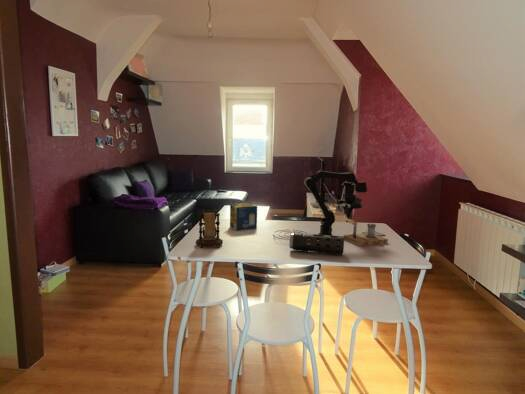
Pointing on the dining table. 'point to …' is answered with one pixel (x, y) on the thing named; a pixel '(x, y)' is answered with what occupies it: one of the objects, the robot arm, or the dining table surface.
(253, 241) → the dining table surface
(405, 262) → the dining table surface
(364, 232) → the rubber mat
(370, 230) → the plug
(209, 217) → the wooden hourglass
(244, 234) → the dining table surface
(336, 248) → the muzzle brake
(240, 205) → the protein box
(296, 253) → the dining table surface
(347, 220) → the bar
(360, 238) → the socket base
